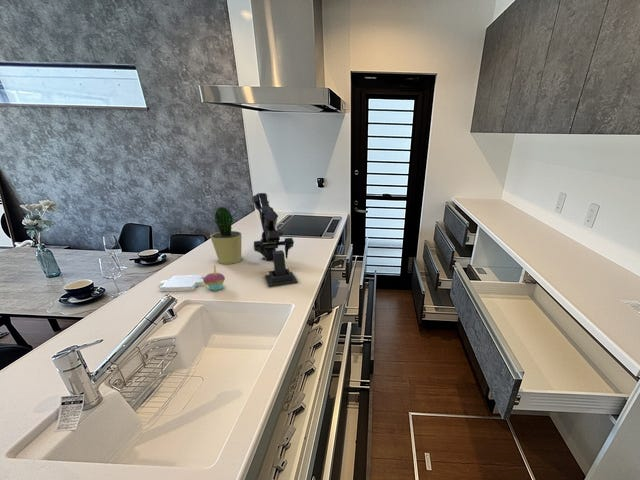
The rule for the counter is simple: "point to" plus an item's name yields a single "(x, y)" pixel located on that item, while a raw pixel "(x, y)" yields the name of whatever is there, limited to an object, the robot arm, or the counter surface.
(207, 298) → the counter surface
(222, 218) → the potted cactus
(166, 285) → the mounting plate
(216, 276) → the cupcake
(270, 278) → the socket pad
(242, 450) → the counter surface
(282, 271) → the post
